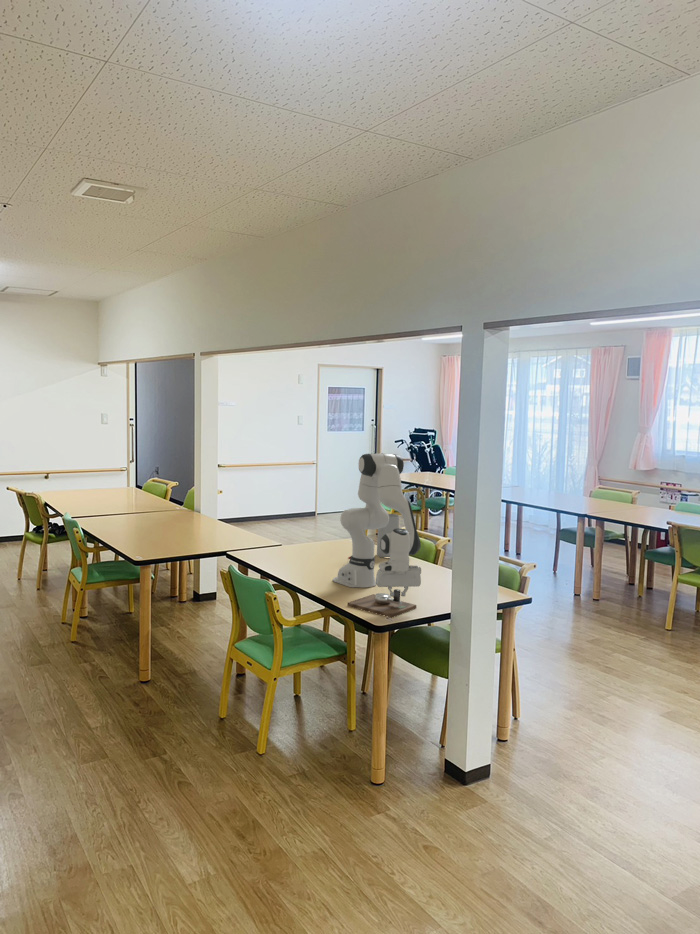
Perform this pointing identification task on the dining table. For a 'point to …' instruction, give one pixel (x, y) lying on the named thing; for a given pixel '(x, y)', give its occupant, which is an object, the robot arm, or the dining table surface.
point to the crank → (388, 598)
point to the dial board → (381, 606)
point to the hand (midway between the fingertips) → (397, 596)
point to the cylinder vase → (390, 526)
